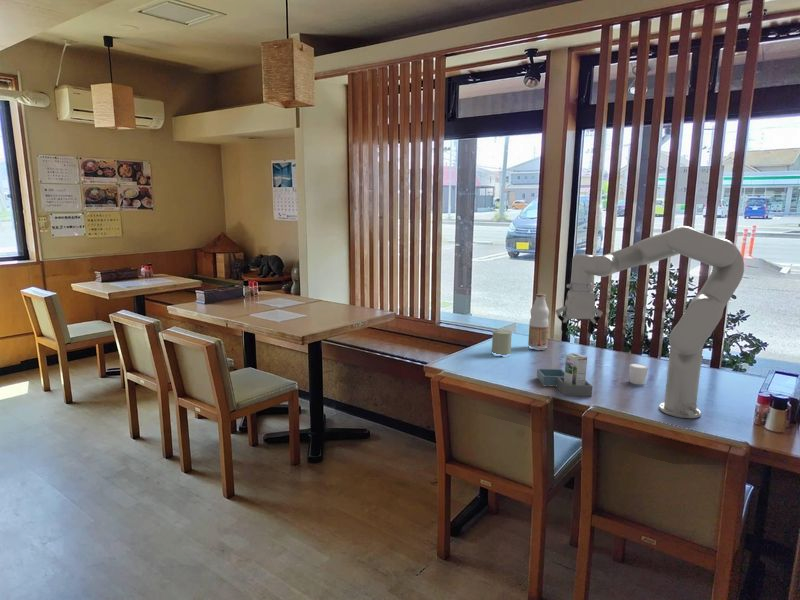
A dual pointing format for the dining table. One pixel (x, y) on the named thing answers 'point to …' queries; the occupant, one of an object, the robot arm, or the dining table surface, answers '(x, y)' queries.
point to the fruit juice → (539, 323)
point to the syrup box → (575, 369)
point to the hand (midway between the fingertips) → (577, 332)
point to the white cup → (638, 373)
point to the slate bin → (549, 376)
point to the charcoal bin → (574, 388)
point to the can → (501, 342)
